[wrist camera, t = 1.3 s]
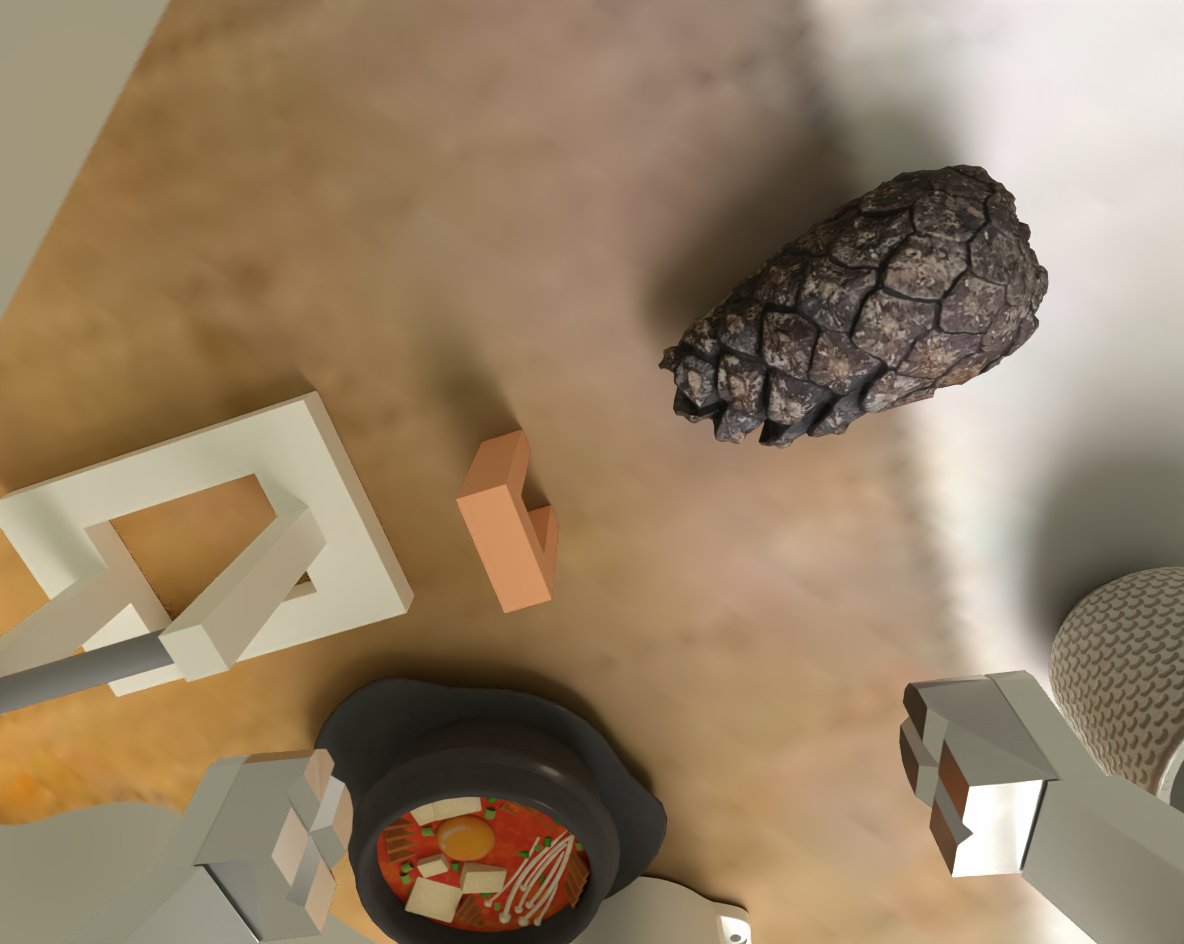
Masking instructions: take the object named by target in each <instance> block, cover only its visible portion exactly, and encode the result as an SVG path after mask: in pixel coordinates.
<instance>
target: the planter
mask: <svg viewBox="0 0 1184 944" xmlns="http://www.w3.org/2000/svg"><path fill="white" fill-rule="evenodd" d="M1049 678H1050V683H1051V687H1052V691H1053V695H1054V698H1055V700H1056V702H1057V704H1058V707H1059V709H1060V711H1061V713H1062V715H1063V717H1064V718H1065V720H1066V721H1067V722H1068V724H1069V725H1070V727H1071V728H1072V729H1073V731H1074V732H1075V733H1076V735H1077V736H1078V737H1079V739H1080V740H1081V741H1082V743H1083V744H1084V746H1085V747H1086V748H1087V750H1088V751H1089V752H1090V754H1091V755H1092V756H1093V758H1094V759H1095V760H1096V762H1097V763H1098V765H1099V766H1100V767H1101V769H1102V770H1103V771H1104V773H1105V774H1106V775H1107V776H1110V775H1120V776H1122V777H1124V778H1125V779H1127V780H1129V781H1130V782H1132V783H1134V784H1135V785H1137V786H1139V787H1140V788H1142V789H1144V790H1145V791H1147V792H1149V793H1150V794H1152V795H1154V796H1155V797H1157V798H1159V799H1160V800H1162V801H1164V802H1165V803H1167V804H1169V805H1170V806H1172V807H1174V808H1175V809H1177V810H1179V811H1180V812H1182V813H1184V567H1177V566H1172V567H1159V568H1152V569H1148V570H1143V571H1138V572H1134V573H1132V574H1129V575H1126V576H1123V577H1120V578H1118V579H1116V580H1114V581H1112V582H1110V583H1107V584H1104V585H1102V586H1099V587H1097V588H1095V589H1094V590H1092V591H1090V592H1089V593H1087V594H1086V595H1085V596H1083V597H1082V598H1081V599H1080V600H1079V601H1078V602H1077V603H1076V604H1075V605H1074V606H1073V607H1072V609H1071V610H1070V611H1069V613H1068V615H1067V617H1066V618H1065V620H1064V622H1063V624H1062V626H1061V628H1060V629H1059V631H1058V633H1057V635H1056V637H1055V640H1054V643H1053V646H1052V649H1051V655H1050V661H1049Z"/></svg>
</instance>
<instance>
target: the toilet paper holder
mask: <svg viewBox="0 0 1184 944" xmlns="http://www.w3.org/2000/svg"><path fill="white" fill-rule="evenodd" d="M253 473H255V475H256V477H257V479H258V481H259V483H260V485H261V486H262V488H263V490H264V492H265V494H266V496H267V498H268V500H269V502H270V503H271V505H272V507H273V509H274V511H275V513H276V515H277V518H276V519H275V520H274V521H273V522H272V523H271V524H270V525H269V526H268V527H267V528H266V529H265V530H264V531H263V532H262V533H261V534H260V535H259V536H258V537H257V538H256V539H255V540H254V541H253V542H252V543H251V544H250V545H249V546H248V547H247V548H246V549H245V550H244V551H243V552H242V553H241V554H240V555H239V556H238V557H237V558H236V559H235V560H234V561H233V562H232V563H231V564H230V565H229V566H228V567H227V568H226V569H225V570H224V571H223V572H222V573H221V574H220V575H219V576H218V577H217V578H216V579H215V580H214V581H213V582H212V583H211V584H210V585H209V586H208V587H207V588H206V589H205V590H204V591H203V592H202V593H201V594H200V595H199V596H198V597H197V598H196V599H195V600H194V601H193V602H192V603H191V604H190V605H189V606H188V607H187V608H186V609H185V610H184V611H183V612H182V613H181V614H180V615H179V616H178V617H177V618H176V619H175V620H174V621H173V622H172V620H171V618H170V617H169V615H168V614H167V612H166V610H165V609H164V607H163V606H162V604H161V602H160V601H159V599H158V598H157V596H156V594H155V593H154V591H153V590H152V588H151V586H150V585H149V583H148V582H147V580H146V578H145V577H144V575H143V574H142V572H141V570H140V569H139V567H138V566H137V564H136V562H135V561H134V559H133V558H132V556H131V554H130V553H129V551H128V550H127V548H126V546H125V545H124V543H123V542H122V540H121V538H120V537H119V535H118V534H117V532H116V530H115V529H114V527H113V526H112V524H111V522H110V521H109V520H110V519H113V518H117V517H120V516H123V515H126V514H129V513H132V512H135V511H138V510H141V509H145V508H148V507H151V506H154V505H157V504H160V503H163V502H166V501H169V500H173V499H176V498H179V497H182V496H185V495H188V494H191V493H194V492H197V491H201V490H204V489H207V488H210V487H213V486H216V485H219V484H222V483H225V482H229V481H232V480H235V479H238V478H241V477H244V476H247V475H250V474H253ZM0 528H1V529H2V531H3V532H4V534H5V535H6V537H7V538H8V539H9V541H10V542H11V544H12V545H13V547H14V548H15V550H16V551H17V553H18V554H19V555H20V557H21V558H22V560H23V561H24V563H25V564H26V566H27V567H28V568H29V570H30V571H31V573H32V574H33V576H34V577H35V579H36V580H37V582H38V583H39V584H40V586H41V587H42V589H43V590H44V592H45V593H46V595H47V596H48V598H49V599H50V601H48V602H47V603H46V604H44V605H43V606H42V607H40V608H39V609H38V610H36V611H35V612H34V613H32V614H31V615H29V616H28V617H27V618H25V619H24V620H23V621H21V622H20V623H19V624H17V625H16V626H15V627H13V628H12V629H10V630H9V631H8V632H6V633H5V634H4V635H2V636H1V637H0V717H1V716H2V715H3V714H4V713H6V712H10V711H13V710H17V709H20V708H24V707H27V706H30V705H34V704H37V703H41V702H44V701H47V700H51V699H54V698H58V697H61V696H65V695H68V694H71V693H75V692H78V691H82V690H85V689H88V688H92V687H95V686H99V685H102V684H106V683H108V685H109V686H110V688H111V689H112V690H113V692H114V693H115V695H116V696H117V697H119V696H122V695H125V694H129V693H132V692H136V691H139V690H143V689H146V688H150V687H153V686H157V685H160V684H163V683H167V682H170V681H174V680H177V679H181V678H185V680H186V682H190V681H194V680H197V679H201V678H204V677H208V676H211V675H214V674H218V673H221V672H225V671H228V670H230V668H231V667H232V666H233V665H234V663H236V662H239V661H243V660H246V659H250V658H253V657H257V656H260V655H264V654H267V653H270V652H274V651H277V650H281V649H284V648H288V647H291V646H295V645H298V644H301V643H305V642H308V641H312V640H315V639H319V638H322V637H326V636H329V635H333V634H336V633H339V632H343V631H346V630H350V629H353V628H357V627H360V626H364V625H367V624H371V623H374V622H377V621H381V620H384V619H388V618H391V617H395V616H398V615H402V614H405V613H407V612H408V609H409V607H410V605H411V603H412V600H413V598H414V594H413V591H412V589H411V587H410V585H409V583H408V581H407V579H406V577H405V575H404V573H403V570H402V568H401V566H400V564H399V562H398V560H397V558H396V556H395V554H394V552H393V549H392V547H391V545H390V543H389V541H388V539H387V537H386V535H385V533H384V531H383V528H382V526H381V524H380V522H379V520H378V518H377V516H376V514H375V512H374V510H373V507H372V505H371V503H370V501H369V499H368V497H367V495H366V493H365V491H364V488H363V486H362V484H361V482H360V480H359V478H358V476H357V474H356V472H355V470H354V467H353V465H352V463H351V461H350V459H349V457H348V455H347V453H346V451H345V449H344V446H343V444H342V442H341V440H340V438H339V436H338V434H337V432H336V430H335V428H334V425H333V423H332V421H331V419H330V417H329V415H328V413H327V411H326V409H325V407H324V404H323V402H322V400H321V398H320V396H319V394H318V392H317V390H316V391H313V392H310V393H307V394H304V395H301V396H298V397H295V398H292V399H289V400H286V401H283V402H280V403H277V404H274V405H271V406H268V407H265V408H262V409H259V410H256V411H253V412H250V413H247V414H244V415H241V416H238V417H235V418H232V419H229V420H226V421H223V422H220V423H217V424H214V425H211V426H208V427H205V428H202V429H199V430H196V431H193V432H190V433H187V434H184V435H181V436H178V437H175V438H172V439H169V440H166V441H163V442H160V443H157V444H154V445H151V446H148V447H145V448H141V449H138V450H135V451H132V452H129V453H126V454H123V455H120V456H117V457H114V458H111V459H108V460H105V461H102V462H99V463H96V464H93V465H90V466H87V467H84V468H81V469H78V470H75V471H72V472H69V473H66V474H63V475H60V476H57V477H54V478H51V479H48V480H45V481H42V482H39V483H36V484H33V485H30V486H27V487H24V488H21V489H18V490H15V491H12V492H10V493H8V494H6V495H4V496H2V497H0ZM305 571H307V573H308V575H309V577H310V579H311V581H309V582H305V583H302V584H299V585H295V584H296V583H297V582H298V580H299V579H300V578H301V576H302V575H303V574H304V572H305ZM294 585H295V586H294ZM81 646H82V647H83V648H84V650H85V651H86V652H84V653H81V654H78V655H74V656H71V657H69V656H70V655H72V654H73V653H74V652H75V651H76V650H77V649H78V648H80V647H81Z"/></svg>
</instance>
